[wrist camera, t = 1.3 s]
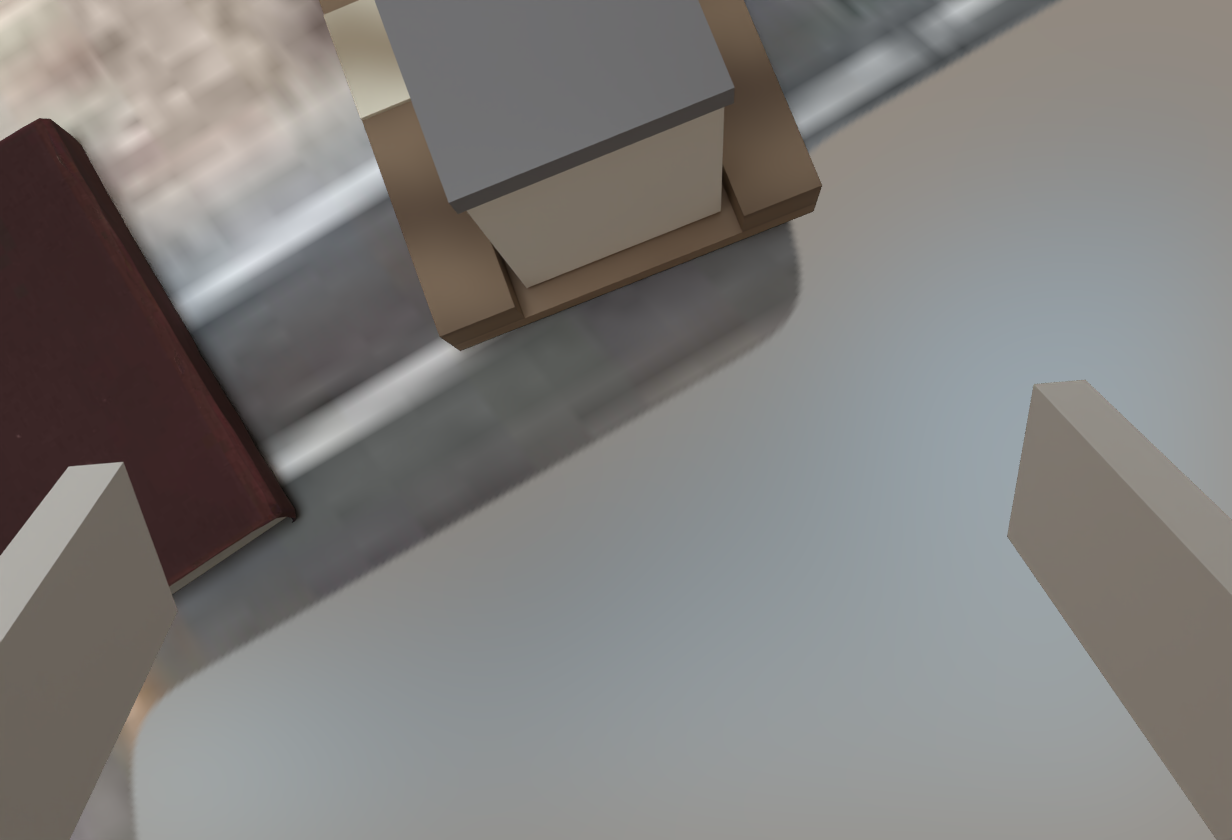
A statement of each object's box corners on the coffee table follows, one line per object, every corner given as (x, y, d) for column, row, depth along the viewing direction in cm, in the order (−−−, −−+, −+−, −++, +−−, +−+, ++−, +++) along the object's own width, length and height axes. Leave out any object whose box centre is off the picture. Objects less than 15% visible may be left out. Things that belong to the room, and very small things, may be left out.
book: (88, 138, 43) (37, 106, 39) (310, 515, 40) (274, 514, 37) (-148, 298, 43) (-218, 280, 40) (55, 683, 40) (-2, 697, 37)
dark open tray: (813, 211, 39) (831, 154, 33) (460, 350, 39) (415, 320, 33) (624, -239, 41) (609, -366, 35) (297, -100, 42) (229, -203, 36)
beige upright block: (727, 214, 38) (734, 87, 27) (523, 294, 38) (448, 202, 27) (667, 66, 38) (650, -115, 28) (468, 147, 39) (374, 0, 28)
